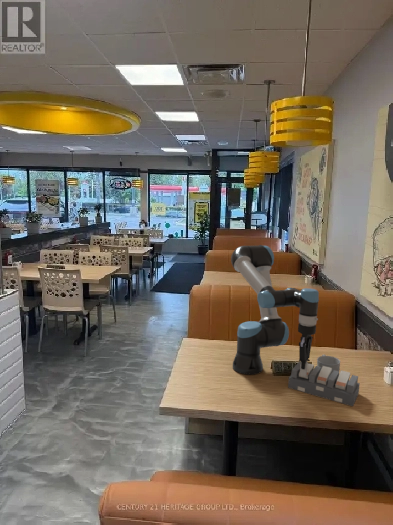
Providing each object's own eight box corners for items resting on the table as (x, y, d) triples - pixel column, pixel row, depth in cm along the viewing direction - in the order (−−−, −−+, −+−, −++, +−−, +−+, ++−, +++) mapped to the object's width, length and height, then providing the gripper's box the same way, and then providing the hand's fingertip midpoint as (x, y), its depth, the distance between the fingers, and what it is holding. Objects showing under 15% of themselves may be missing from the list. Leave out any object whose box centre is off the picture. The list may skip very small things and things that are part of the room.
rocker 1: (298, 376, 173) (298, 372, 172) (305, 365, 181) (305, 362, 180) (307, 378, 171) (307, 375, 170) (314, 367, 179) (314, 364, 178)
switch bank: (287, 387, 174) (289, 370, 173) (297, 377, 185) (298, 360, 184) (352, 406, 159) (354, 387, 158) (358, 393, 170) (360, 375, 169)
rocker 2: (316, 382, 169) (316, 379, 168) (322, 368, 176) (322, 365, 176) (325, 384, 167) (325, 381, 166) (331, 370, 174) (331, 367, 174)
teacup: (340, 381, 182) (342, 365, 181) (317, 378, 185) (318, 362, 183) (336, 368, 196) (337, 354, 195) (314, 366, 198) (315, 351, 197)
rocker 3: (335, 387, 165) (335, 384, 164) (340, 373, 172) (340, 370, 171) (345, 390, 162) (345, 386, 162) (350, 375, 170) (350, 372, 169)
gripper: (311, 329, 160) (307, 382, 163) (319, 322, 171) (315, 372, 174) (294, 325, 164) (290, 377, 167) (303, 319, 175) (299, 368, 178)
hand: (303, 375), depth 171 cm, fingers closed
